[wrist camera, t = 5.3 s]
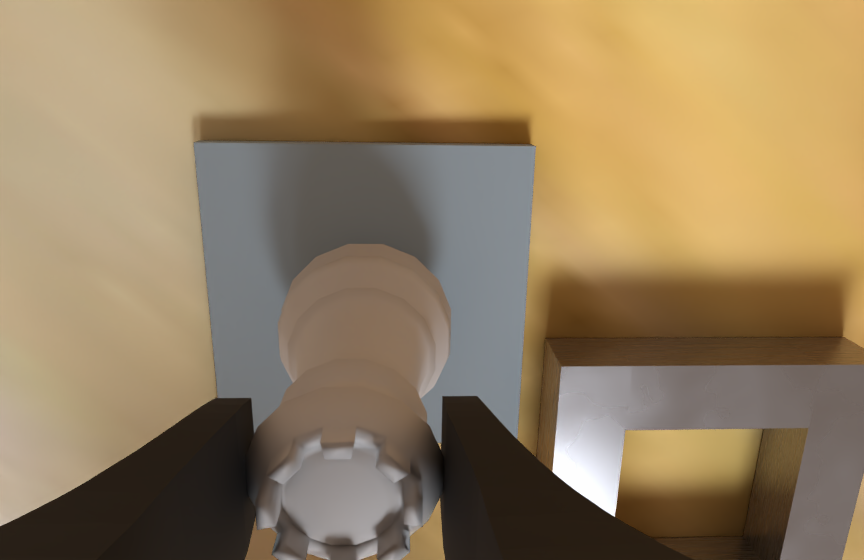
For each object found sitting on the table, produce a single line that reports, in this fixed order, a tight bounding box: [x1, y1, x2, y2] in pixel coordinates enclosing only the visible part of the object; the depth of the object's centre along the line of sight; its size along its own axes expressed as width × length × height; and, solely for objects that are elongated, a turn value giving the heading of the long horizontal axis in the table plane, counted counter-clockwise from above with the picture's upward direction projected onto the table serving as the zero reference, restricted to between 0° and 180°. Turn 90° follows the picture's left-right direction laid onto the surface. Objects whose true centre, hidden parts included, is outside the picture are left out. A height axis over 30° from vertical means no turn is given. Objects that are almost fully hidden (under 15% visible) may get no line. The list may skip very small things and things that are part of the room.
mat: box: [194, 140, 536, 443], centre depth 18 cm, size 9×9×1 cm
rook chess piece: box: [245, 244, 451, 560], centre depth 13 cm, size 4×4×8 cm
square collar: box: [537, 337, 864, 560], centre depth 20 cm, size 9×9×2 cm
